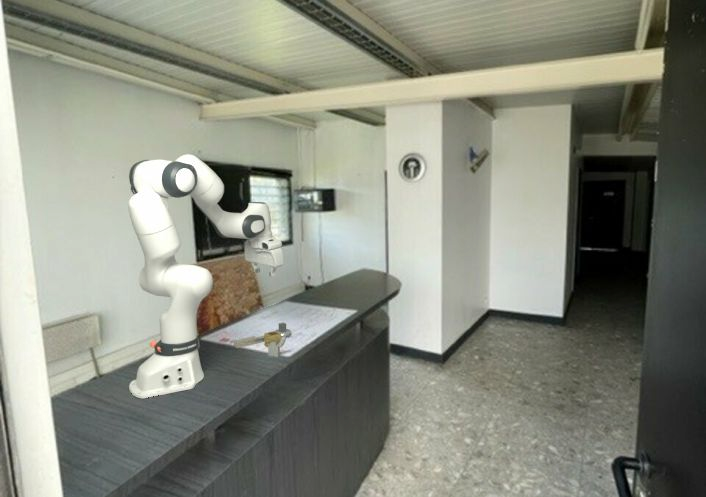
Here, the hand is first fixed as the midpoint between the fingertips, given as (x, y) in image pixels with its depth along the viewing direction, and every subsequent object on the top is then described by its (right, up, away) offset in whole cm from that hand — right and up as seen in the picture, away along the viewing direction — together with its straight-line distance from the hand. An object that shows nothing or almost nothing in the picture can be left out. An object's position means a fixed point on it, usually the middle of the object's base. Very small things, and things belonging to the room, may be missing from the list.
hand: (264, 274), depth 177 cm
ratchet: (-1, -28, +4) cm, 28 cm away
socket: (+4, -29, -2) cm, 29 cm away
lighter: (+8, -31, -13) cm, 34 cm away
